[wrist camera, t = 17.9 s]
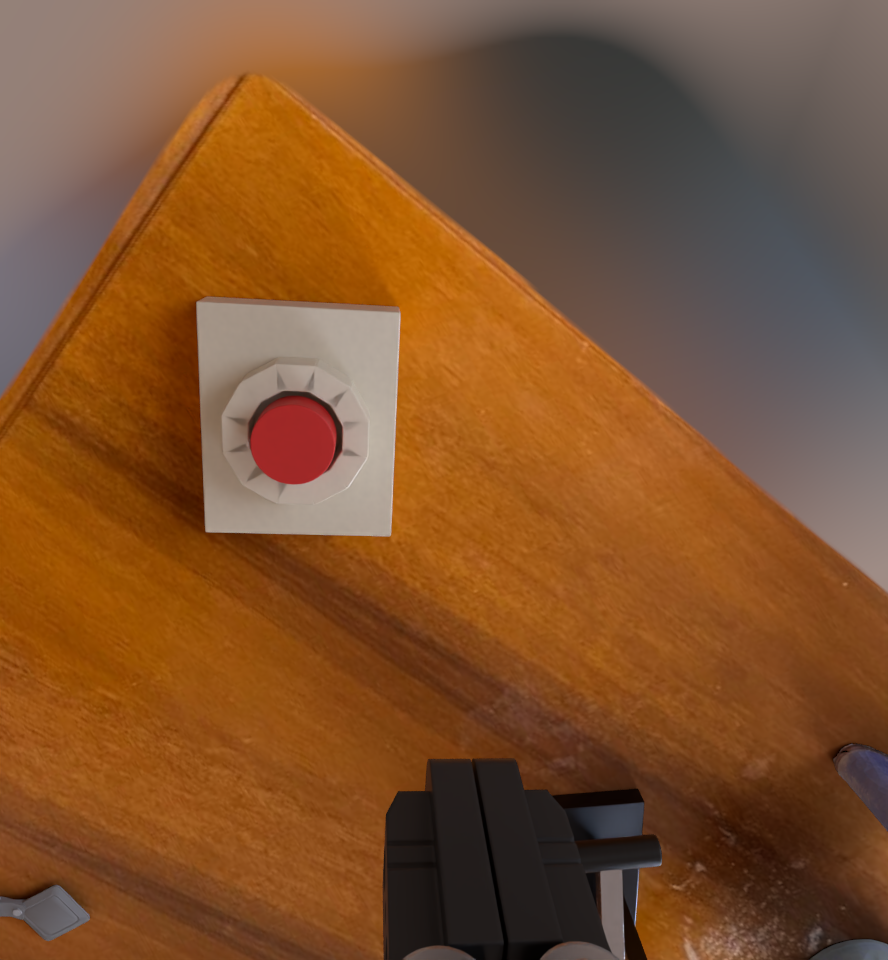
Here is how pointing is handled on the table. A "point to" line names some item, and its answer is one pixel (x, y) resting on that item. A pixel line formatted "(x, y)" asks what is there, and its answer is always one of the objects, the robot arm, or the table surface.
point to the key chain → (47, 912)
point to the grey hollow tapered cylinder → (855, 951)
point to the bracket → (610, 820)
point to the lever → (616, 877)
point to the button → (293, 440)
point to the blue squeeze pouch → (866, 777)
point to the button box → (309, 373)
